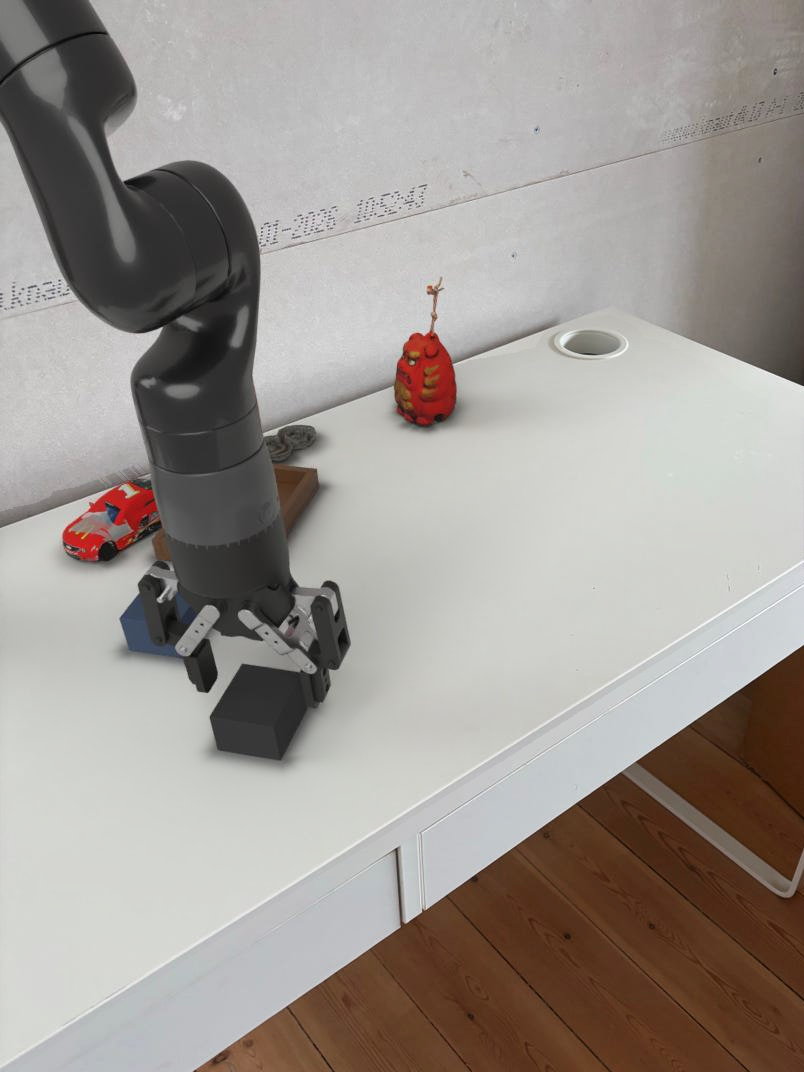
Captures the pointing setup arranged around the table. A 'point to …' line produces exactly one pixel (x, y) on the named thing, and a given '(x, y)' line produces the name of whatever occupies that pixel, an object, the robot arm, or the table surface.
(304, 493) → the brown tray
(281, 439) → the corroded twin loop
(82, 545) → the race car
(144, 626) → the blue block
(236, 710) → the black block
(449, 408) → the red clay folk toy
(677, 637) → the table surface
